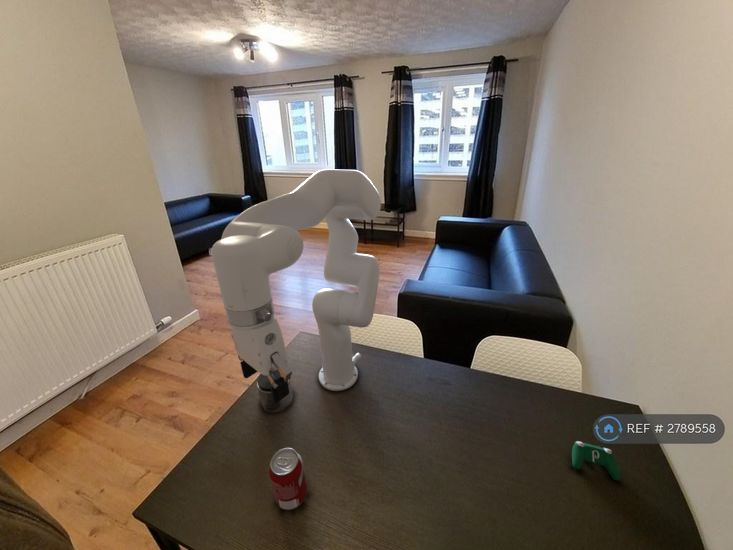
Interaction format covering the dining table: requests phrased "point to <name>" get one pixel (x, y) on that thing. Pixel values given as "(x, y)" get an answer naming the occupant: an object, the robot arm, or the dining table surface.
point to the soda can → (288, 479)
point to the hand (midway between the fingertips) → (266, 385)
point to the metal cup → (266, 395)
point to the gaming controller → (595, 458)
